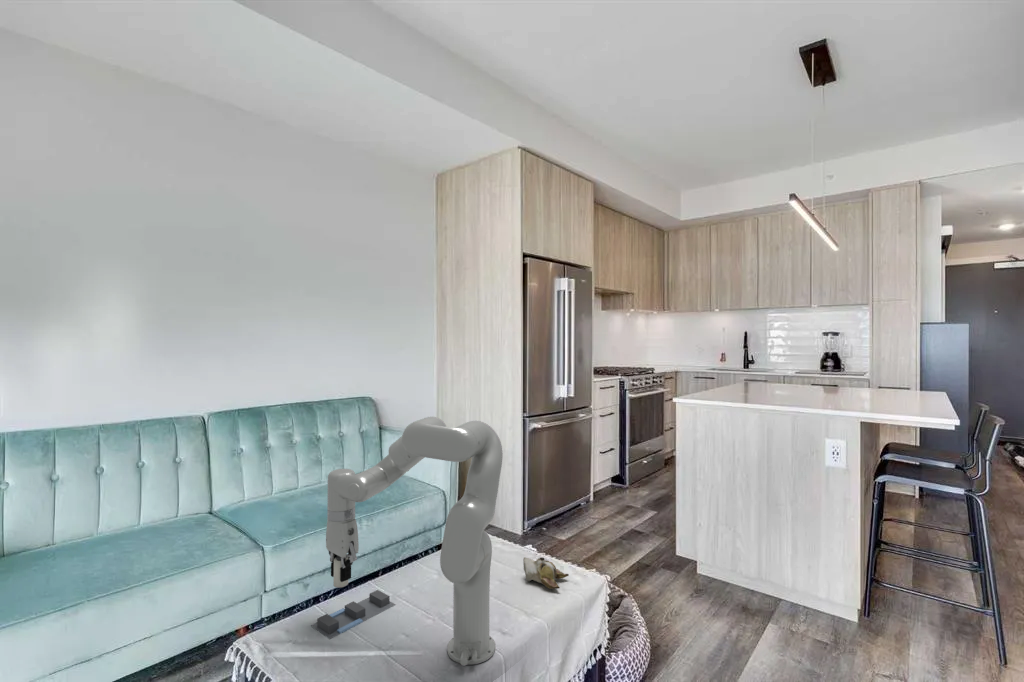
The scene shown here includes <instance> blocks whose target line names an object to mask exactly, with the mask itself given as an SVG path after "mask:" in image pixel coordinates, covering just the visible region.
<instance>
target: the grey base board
mask: <svg viewBox="0 0 1024 682" xmlns="http://www.w3.org/2000/svg"><path fill="white" fill-rule="evenodd" d="M368 595H369V597H367V598H364V599H363V600H361V601H359V602H355V601H352V602H349V603H347V604H345V605H344V608H343V607H342V608H341V609H339V610H336V611H335V612H332V613H330V614H329V613H326V614H323V615H321V616H320V617H317V620H316V621H317V622H315V623H313V624H311V625H310V627H311V628H313V629H315V630H316V631H318V632H319V633H321V635H323V636H325V638H327V639H329V640H331V639H334V638H336V637H338V636H339V635H341V634H342V633H345V632H347V631H349V630H351V629H353V628H355V627H356V626H358V625H360V624H362V623H365V622H367V620H369V619H371V618H373V617H376V616H378V615H379V614H381V613H383V612H385V611H387V610H389V609H391V608H393V607H394V606H396V605H397V604H395V603H394V602H392V601H391V598H390V595H388V594H387V593H384V592H382V591H381V590H379V589H376V590H374V591H372V592H370V593H369V594H368Z"/></svg>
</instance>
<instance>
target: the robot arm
mask: <svg viewBox="0 0 1024 682" xmlns="http://www.w3.org/2000/svg"><path fill="white" fill-rule="evenodd" d="M401 435H402V436H400V437H399V438H398V439H397V440H395V441H393V443H391V445H390V446H389V447H388V454H387V455H386V456H385V457H383V458H382V459H381V460H380V461H379V462H377V463H376V464H375V465H374V466H372V467H369V468H368V469H365V470H363V471H360V472H358V473H356V472H355V471H354V470H353V469H350V468H338V469H334V470H331V471H330V472H329V473H328V474H327V513H326V514H327V517H326V518H327V519H326V521H327V522H326V531H325V547H326V550H327V551H328V554H329V562H330V576H331V577H332V578H334V559H335V558H336V557H337V555H338V556H340V557H341V565H342V567H341V568H340V581H341V582H344V581H346V580H348V581H349V580H351V578H352V565H353V563H354V562H357V559H358V557H357V554H358V553H359V548H360V547H359V544H360V543H359V531H358V524H357V519H356V503H363V502H366V501H367V500H369V499H371V498H372V497H374V496H376V495H377V494H380V493H381V492H384V491H385V490H386V489H388V488H389V487H390V486H392V484H394V483H395V482H397V481H398V480H399V479H400V478H401V477H403V476H404V475H405V474H406V473H407V472H409V471H410V470H411V469H412V468H414V467H415V466H416V465H417V464H418V463H420V462H421V461H423V459H424V458H427V459H434V460H438V461H446V462H451V463H453V462H454V463H462V462H465V461H468V460H469V459H471V461H470V465H469V468H468V472H467V475H466V477H467V478H466V482H465V489H464V492H463V495H462V497H461V498H460V499H459V500H458V501H457V502H456V503H454V505H453V506H452V507H451V508H450V509H449V512H448V513H447V516H446V520H445V525H444V532H443V537H442V544H441V549H440V555H439V557H440V558H439V564H440V569H441V573H442V575H443V576H444V578H445V579H446V580H447V581H448V582H451V583H452V584H453V588H452V589H453V593H452V594H453V596H452V597H453V599H452V600H453V601H452V602H453V603H452V604H453V622H452V623H453V624H452V625H453V627H452V630H453V632H452V633H453V635H452V636H453V637H452V638H451V639H450V640H449V641H448V643H447V648H446V649H447V654H448V656H449V658H450V659H451V661H454V662H455V663H458V664H460V665H461V666H467V665H470V666H471V665H477V664H481V663H484V662H486V661H487V660H489V659H490V658H492V656H493V655H494V654H495V652H496V642H495V640H494V638H493V637H492V636H490V591H491V589H490V587H491V586H490V584H491V582H490V580H491V579H490V577H491V575H490V574H491V566H492V565H491V564H492V555H493V545H492V540H491V537H490V535H489V533H488V532H487V531H485V529H486V528H487V527H488V526H489V524H490V523H491V522H492V520H493V519H494V516H495V511H496V505H497V497H498V492H499V485H500V477H501V472H502V468H503V467H502V466H503V445H502V442H501V439H500V438H499V435H498V433H497V432H496V431H495V429H493V428H492V427H491V425H489V424H487V423H485V422H484V421H481V420H470V421H467V422H465V423H463V424H460V425H458V426H456V427H451V426H447V425H446V423H445V422H444V421H443V420H442V419H441V418H439V417H436V416H427V417H424V418H422V419H419V420H416V421H413V422H411V423H410V424H408V425H407V426H406V427H405V428H404V430H403V432H402V434H401ZM347 557H348V560H346V561H345V558H347Z"/></svg>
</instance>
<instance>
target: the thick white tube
mask: <svg viewBox="0 0 1024 682" xmlns="http://www.w3.org/2000/svg"><path fill="white" fill-rule="evenodd" d="M346 560H348V557H347V558H345V561H346ZM341 567H342V565H341V557H340V556H338V555H337V557H336V558H335V559H334V577H333V587H335V588H337V589H338V588H340V589H341V588H344V587H346V586H348V585H349V579H348V580H346V581H344V582H341V581H340V568H341Z"/></svg>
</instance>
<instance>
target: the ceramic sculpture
mask: <svg viewBox="0 0 1024 682" xmlns="http://www.w3.org/2000/svg"><path fill="white" fill-rule="evenodd" d="M522 563H523V571H524V573H525V574H524V576H525V577H524V578H525V579H526V582H531V581H532V580H533V581H534V582H537V583H539V584H542V585H544V586H545V588H547V589H549V590H557V589H560V588H561V587H560V586H559V584H558V583H557V581H556V579H557V580H560V579H564V578H566V577H570V576H569V573H564V572H563V571H561V570H560V569H558V568H557V567H556V565H555V564H554V562H551V561H549V560H546V559H545V557H539V558H536V560H533V559H531V558H529V557H523V562H522Z"/></svg>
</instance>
